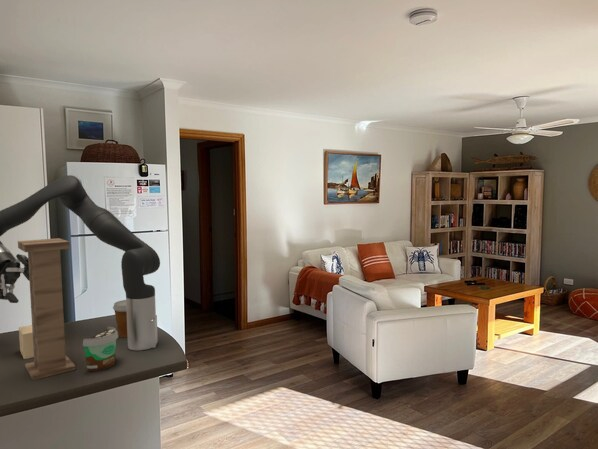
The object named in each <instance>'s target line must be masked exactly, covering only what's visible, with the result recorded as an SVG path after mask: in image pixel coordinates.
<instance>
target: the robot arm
mask: <svg viewBox="0 0 598 449" xmlns="http://www.w3.org/2000/svg"><path fill="white" fill-rule="evenodd" d="M57 198H58V199H59V201H60V203H61V204H62V205H63V206H64V207H66V208H67V209H68V210H70V211H71V212H72V213H74V214H75V215H76V216H77V217H79V219H81V221H82V222H83V224H84V225H85V226H86V227H87V228H88V230H89V231H91V233H92V234H94V236H96V238H97V239H98V240H99V241H101V242H103V243H105V244H106V245H110V246H111V247H114V248H116V249H118V250H121V251H123V252H124V253H123V254H122V255H121V256H122V258H121V260H120V261H121V262H120V263H121V266H120V267H121V276H122V287H123V290H124V293H125V300H126V310H127V336H128V337H127V348H128V349H129V350H130V351H145V350H149V349H155V348H157V344H158V342H159V340H158V315H157V314H156V311H157V310H156V307H157V306H156V287H155V286H153V285H151V284H147V283H145V280H144V278H145V277H144V276H147V275H150V274H153V273H156V272H157V271H158V270H159V268H160V265H161V260H160V256H159V254H158V253H157V251H156V250H155V249H154V248H153V247H151V246H150V245H149V244H147V243H146V242H144V241H143V240H142V239H140V238H139V237H138V236H137V235H135V234H134V233H133V232H132V231H131V230H130V229H129V228H128V227H126V226H125V225H124V224H123V223H122V222H121V221H120V220H119V218H117V217H116V215H114V214H113V213H112V212H110V211H109V210H108V209H106V208H103V207H101V206H99V205H97V204H96V203H95V202H94V201H93V200H92V199H91V197H90V196H89V195H88V193H87V192H86V190H85V188H84V186H83V183H82V182H81V181H80V179H79V178H78V177H77V176H75V175H71V174H68V175H64V176H61V177H60V178H59V177H58V178H57V179H56V180H53V181H52V182H50V183H48V184H47V185H45V186H44V187H43V188H40V189H39V190H38V191H36V192H35V193H33V194H31V195H29V196H28V197H25V199H22V200H21V201H19V202H17V203H14V204H13V205H9V206H8V207H5V208H3V209H1V210H0V237H2V236H3V235H4V234H6V233H7V232H8V231H9V230H12V229H14V228H16V227H18V226H20V225H22V224H25V223H27V222H28V221H29V220H31V219H32V218H33V217H34V216H35V215H36V213H37V212H39V210H40V209H41V208H43V206H45V205H46V204H48V203H49V202H51V201H53V200H55V199H57ZM21 264H22V265H23V266H24V267H21ZM21 274H23V276H24V277H25V279H26V280H27V281H29V282H30V280H29V263H28V256H26V255H25V254H20V253H18V254H16V256H14V255H13V253H12V252H11V251H10V250H9V249H8V248H7V247H6V246H5V244H3V242H2V241H1V240H0V300H3V301H4V300H5V301H8V302H9V303H11V304H18V303H19V299H18V298H17V296H16V295H15V293H14V289H15V287H16V286H15V284H16V282H17V281H18V279H19V278H20V277H21Z"/></svg>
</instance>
